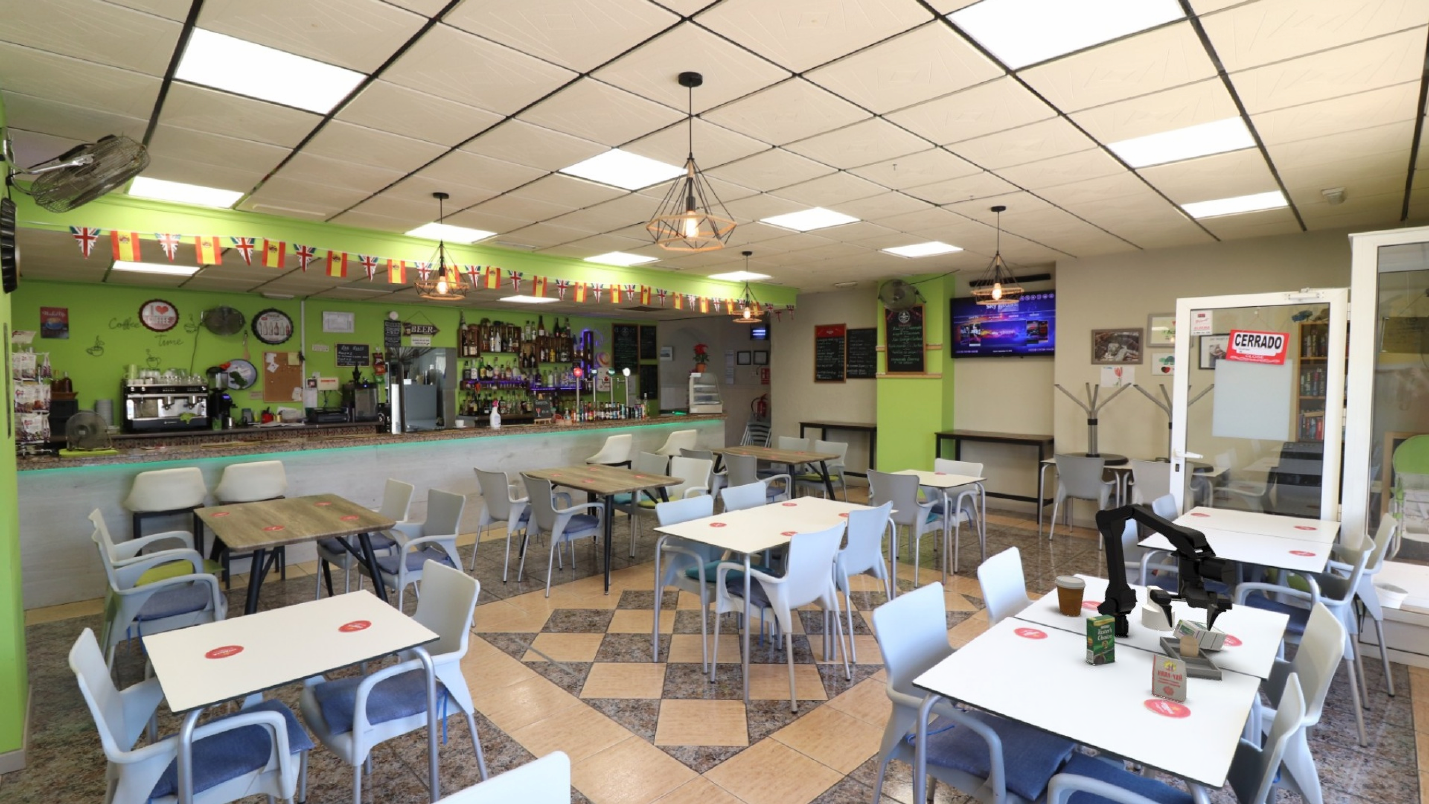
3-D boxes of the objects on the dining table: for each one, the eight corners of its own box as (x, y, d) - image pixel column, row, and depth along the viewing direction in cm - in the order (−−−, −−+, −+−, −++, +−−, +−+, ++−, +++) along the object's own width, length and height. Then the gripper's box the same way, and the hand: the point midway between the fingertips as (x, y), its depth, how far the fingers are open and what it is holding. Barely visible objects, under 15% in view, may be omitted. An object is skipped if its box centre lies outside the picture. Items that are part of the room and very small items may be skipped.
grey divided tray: (1186, 676, 184) (1186, 667, 184) (1159, 644, 206) (1159, 636, 206) (1221, 680, 181) (1221, 671, 181) (1191, 647, 203) (1191, 639, 203)
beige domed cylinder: (1182, 660, 192) (1182, 637, 192) (1177, 654, 196) (1177, 631, 196) (1200, 662, 190) (1201, 639, 190) (1195, 656, 194) (1195, 633, 194)
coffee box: (1093, 666, 191) (1093, 620, 190) (1085, 662, 194) (1085, 617, 193) (1115, 662, 193) (1116, 617, 193) (1107, 658, 196) (1107, 614, 196)
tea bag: (1155, 689, 176) (1155, 652, 176) (1186, 698, 172) (1186, 659, 171) (1151, 694, 174) (1152, 656, 173) (1183, 703, 169) (1183, 664, 169)
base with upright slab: (1136, 620, 226) (1137, 585, 226) (1165, 621, 225) (1166, 586, 224) (1150, 630, 217) (1150, 593, 217) (1180, 632, 216) (1181, 594, 215)
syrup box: (1228, 634, 200) (1198, 628, 194) (1220, 652, 200) (1189, 646, 195) (1209, 623, 205) (1179, 617, 199) (1201, 641, 206) (1171, 635, 200)
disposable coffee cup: (1060, 617, 230) (1060, 582, 229) (1050, 608, 239) (1051, 574, 239) (1090, 618, 228) (1090, 583, 228) (1079, 609, 237) (1080, 575, 237)
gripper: (1161, 580, 188) (1160, 635, 188) (1241, 585, 182) (1240, 643, 182) (1149, 569, 198) (1148, 621, 199) (1224, 574, 192) (1224, 628, 193)
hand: (1189, 628), depth 193 cm, fingers open, 9 cm apart
